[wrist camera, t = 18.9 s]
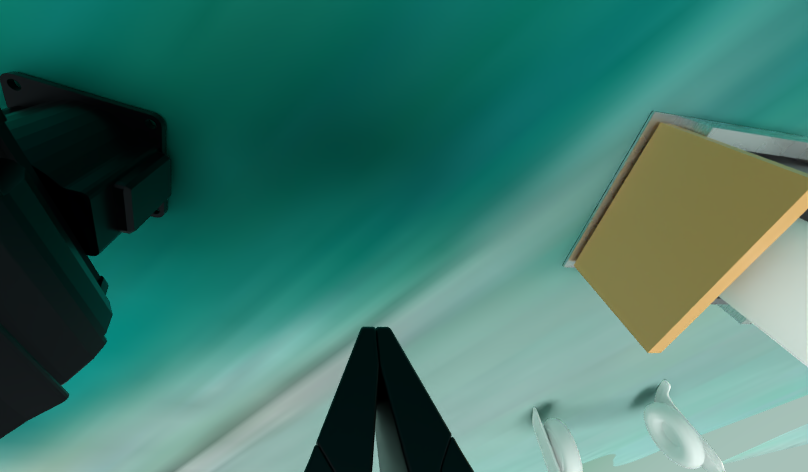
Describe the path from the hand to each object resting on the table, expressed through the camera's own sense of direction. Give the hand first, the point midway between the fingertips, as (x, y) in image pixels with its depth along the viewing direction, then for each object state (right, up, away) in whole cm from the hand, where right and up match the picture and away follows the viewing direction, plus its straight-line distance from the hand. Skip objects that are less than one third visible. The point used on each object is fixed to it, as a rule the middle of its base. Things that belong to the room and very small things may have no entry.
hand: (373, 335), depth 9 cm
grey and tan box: (+22, +5, +16) cm, 28 cm away
